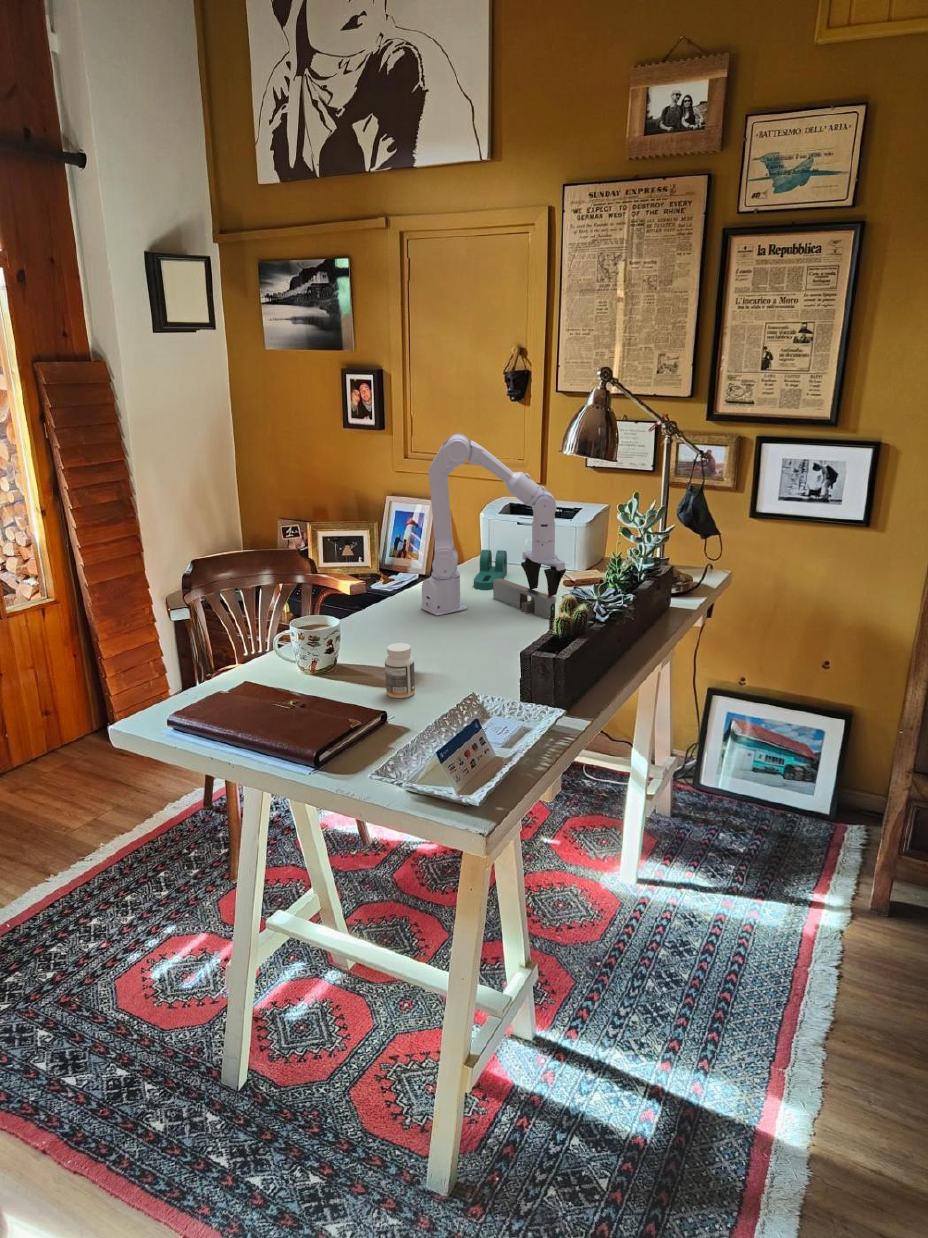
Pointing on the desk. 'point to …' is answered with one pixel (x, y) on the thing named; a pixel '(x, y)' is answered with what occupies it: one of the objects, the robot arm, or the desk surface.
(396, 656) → the pill bottle
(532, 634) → the desk surface
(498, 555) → the bracket
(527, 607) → the plug
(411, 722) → the desk surface
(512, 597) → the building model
